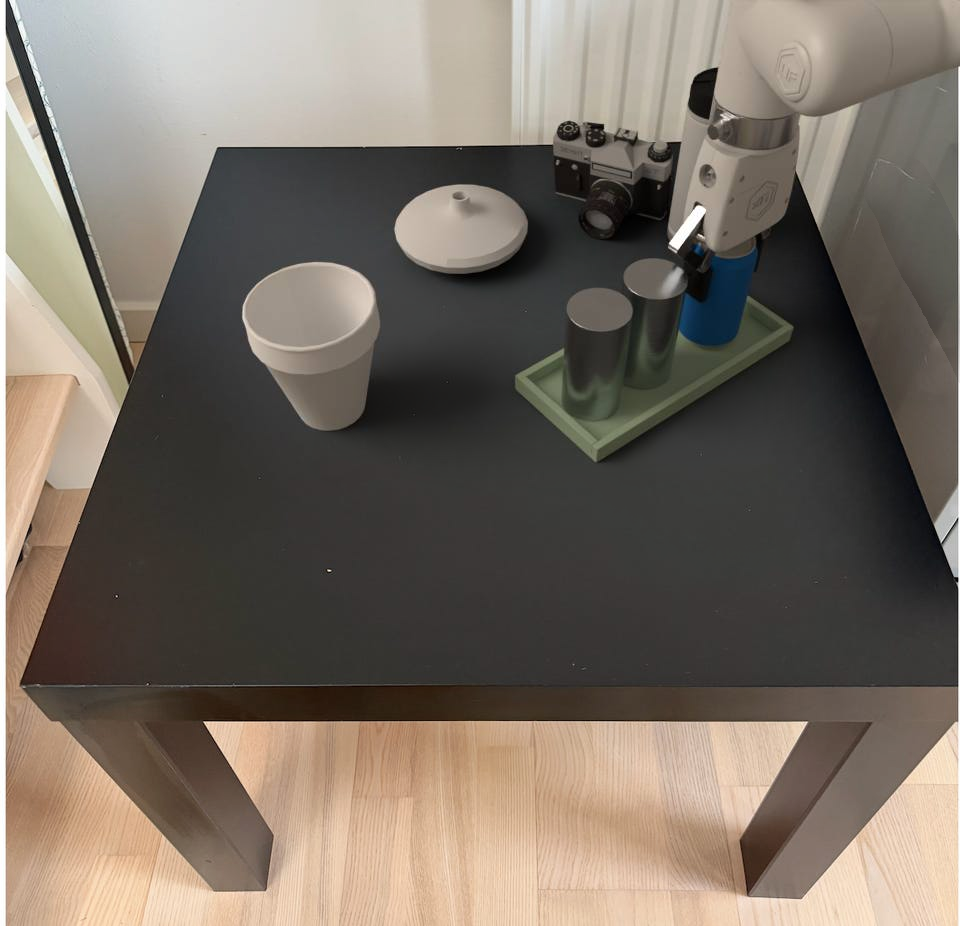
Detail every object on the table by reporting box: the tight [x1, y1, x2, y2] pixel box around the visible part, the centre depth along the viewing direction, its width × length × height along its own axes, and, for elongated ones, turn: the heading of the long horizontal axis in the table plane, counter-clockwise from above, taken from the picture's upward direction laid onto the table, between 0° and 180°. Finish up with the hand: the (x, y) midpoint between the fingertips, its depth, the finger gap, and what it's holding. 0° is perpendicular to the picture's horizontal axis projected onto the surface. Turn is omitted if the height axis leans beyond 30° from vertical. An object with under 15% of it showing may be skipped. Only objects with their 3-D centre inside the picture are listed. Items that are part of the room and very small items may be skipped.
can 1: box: [561, 287, 633, 421], centre depth 87 cm, size 6×6×12 cm
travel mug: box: [666, 66, 719, 242], centre depth 101 cm, size 6×7×20 cm
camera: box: [552, 120, 674, 240], centre depth 109 cm, size 15×11×10 cm
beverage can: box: [679, 231, 758, 347], centre depth 93 cm, size 6×6×12 cm
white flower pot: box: [241, 261, 381, 432], centre depth 88 cm, size 12×12×14 cm
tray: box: [514, 295, 795, 464], centre depth 95 cm, size 13×28×2 cm, turn 127°
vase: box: [393, 184, 529, 275], centre depth 106 cm, size 16×16×7 cm
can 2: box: [620, 257, 688, 390], centre depth 90 cm, size 6×6×12 cm
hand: (718, 279), depth 92 cm, fingers closed on beverage can, 6 cm apart
